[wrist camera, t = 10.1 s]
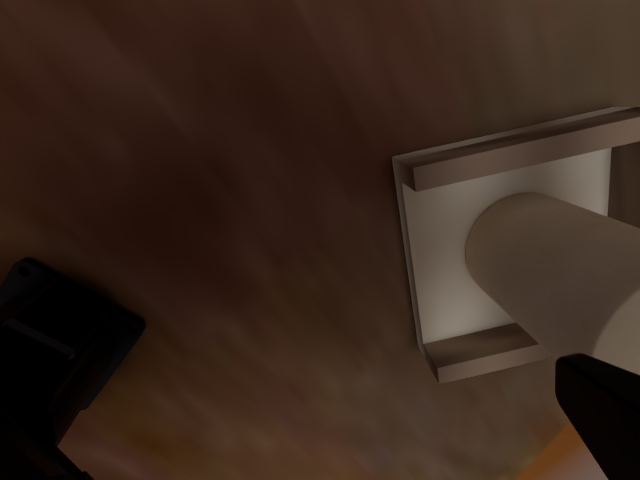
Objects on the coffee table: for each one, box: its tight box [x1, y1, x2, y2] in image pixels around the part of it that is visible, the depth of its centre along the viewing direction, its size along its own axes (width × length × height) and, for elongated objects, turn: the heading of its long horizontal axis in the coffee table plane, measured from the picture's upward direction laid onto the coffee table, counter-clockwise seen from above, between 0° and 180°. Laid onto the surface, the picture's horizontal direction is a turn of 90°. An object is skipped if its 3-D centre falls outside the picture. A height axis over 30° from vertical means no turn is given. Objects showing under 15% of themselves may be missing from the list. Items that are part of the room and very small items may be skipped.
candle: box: [465, 193, 640, 375], centre depth 15 cm, size 6×6×10 cm
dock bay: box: [392, 107, 640, 384], centre depth 19 cm, size 11×11×3 cm
